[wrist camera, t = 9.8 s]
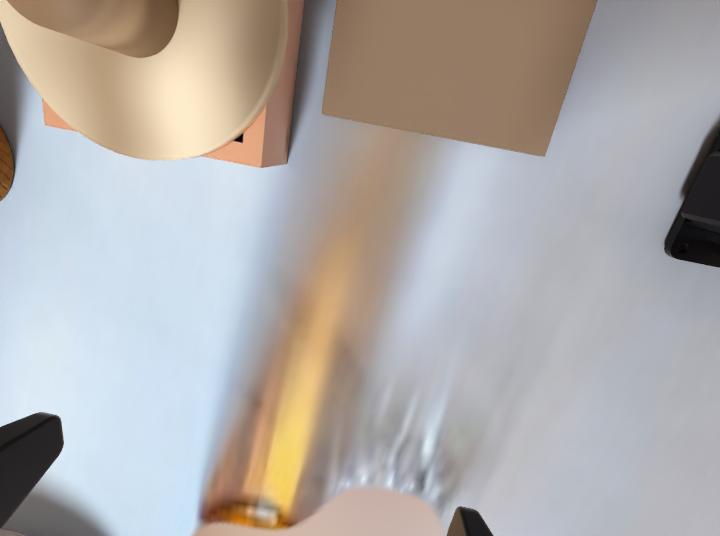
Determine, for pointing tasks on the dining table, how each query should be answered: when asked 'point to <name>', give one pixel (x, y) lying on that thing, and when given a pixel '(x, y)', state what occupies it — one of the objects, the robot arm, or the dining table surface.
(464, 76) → the mat
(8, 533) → the lumpy-topped squat cylinder
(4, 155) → the disposable coffee cup
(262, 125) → the dish
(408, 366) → the dining table surface
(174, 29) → the lid
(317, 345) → the dining table surface
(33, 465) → the robot arm
